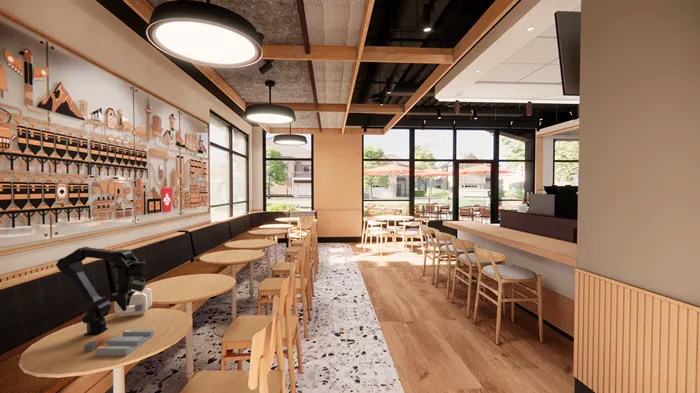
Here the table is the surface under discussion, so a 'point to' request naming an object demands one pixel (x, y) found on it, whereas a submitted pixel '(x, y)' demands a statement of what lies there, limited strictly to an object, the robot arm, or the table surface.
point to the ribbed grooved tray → (125, 343)
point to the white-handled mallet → (132, 308)
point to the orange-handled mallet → (94, 343)
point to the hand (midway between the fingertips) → (125, 309)
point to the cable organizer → (135, 299)
